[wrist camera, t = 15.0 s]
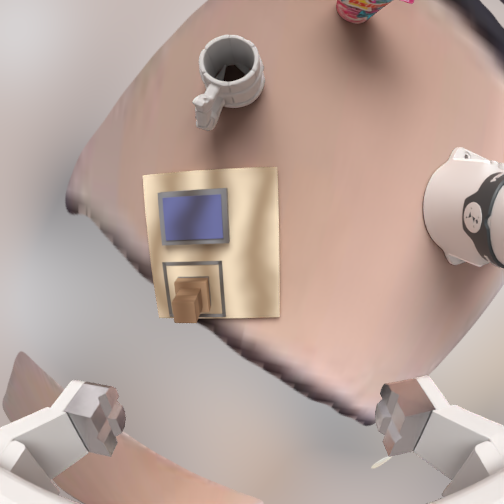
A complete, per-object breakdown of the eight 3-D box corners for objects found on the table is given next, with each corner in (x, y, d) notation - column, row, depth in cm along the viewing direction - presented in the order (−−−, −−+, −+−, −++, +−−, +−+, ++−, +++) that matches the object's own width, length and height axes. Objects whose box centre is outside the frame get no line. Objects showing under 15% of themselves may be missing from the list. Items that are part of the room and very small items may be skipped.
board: (276, 166, 39) (278, 166, 36) (279, 313, 44) (280, 322, 42) (145, 175, 40) (138, 175, 37) (161, 314, 45) (156, 322, 42)
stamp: (208, 276, 42) (199, 296, 35) (211, 305, 43) (203, 328, 36) (178, 276, 42) (164, 296, 35) (181, 305, 43) (169, 328, 37)
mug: (273, 72, 36) (279, 36, 24) (234, 146, 38) (224, 136, 27) (223, 51, 35) (211, 12, 23) (183, 123, 38) (155, 106, 26)
